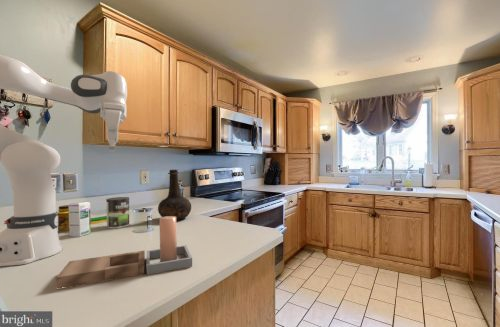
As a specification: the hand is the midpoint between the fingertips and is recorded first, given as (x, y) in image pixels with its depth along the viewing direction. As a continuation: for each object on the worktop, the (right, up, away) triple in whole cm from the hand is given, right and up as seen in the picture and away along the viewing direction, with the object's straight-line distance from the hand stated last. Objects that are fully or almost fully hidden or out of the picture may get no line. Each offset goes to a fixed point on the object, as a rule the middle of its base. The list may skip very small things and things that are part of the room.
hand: (111, 147), depth 90 cm
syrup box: (-24, -38, +17) cm, 48 cm away
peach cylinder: (+26, -37, -15) cm, 48 cm away
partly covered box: (+11, -37, -21) cm, 44 cm away
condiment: (-36, -38, +25) cm, 58 cm away
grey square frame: (+26, -37, -15) cm, 48 cm away
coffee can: (-15, -38, +32) cm, 52 cm away
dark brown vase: (+10, -38, +46) cm, 60 cm away
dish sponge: (-31, -39, +43) cm, 65 cm away
